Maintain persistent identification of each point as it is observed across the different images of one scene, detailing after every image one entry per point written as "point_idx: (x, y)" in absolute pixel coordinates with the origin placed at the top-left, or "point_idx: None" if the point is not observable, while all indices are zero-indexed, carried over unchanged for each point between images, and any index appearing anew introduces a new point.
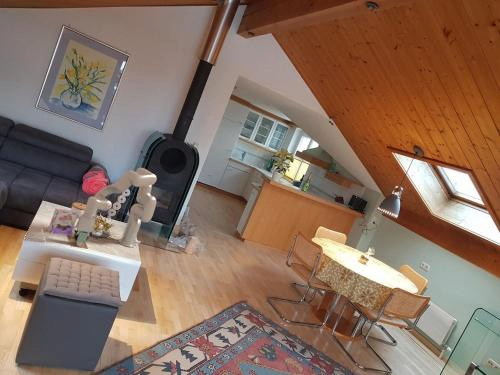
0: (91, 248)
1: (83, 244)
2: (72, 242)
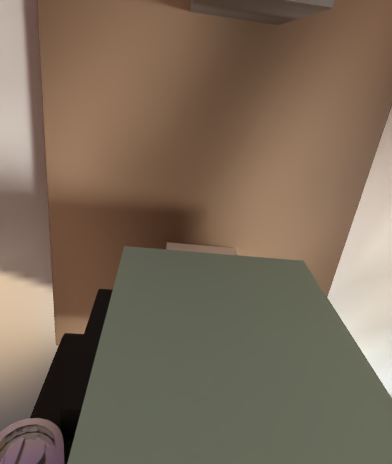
0: (378, 307)
1: (295, 240)
2: (109, 204)
